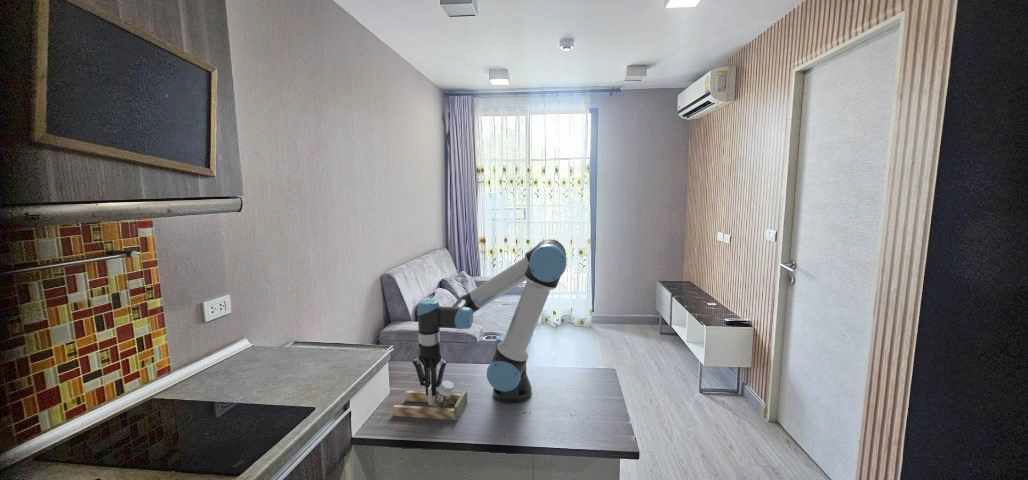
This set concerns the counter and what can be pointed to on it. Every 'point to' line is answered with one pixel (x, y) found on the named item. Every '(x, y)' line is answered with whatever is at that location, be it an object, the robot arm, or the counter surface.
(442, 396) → the pill bottle
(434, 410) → the bay
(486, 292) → the robot arm
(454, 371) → the counter surface
